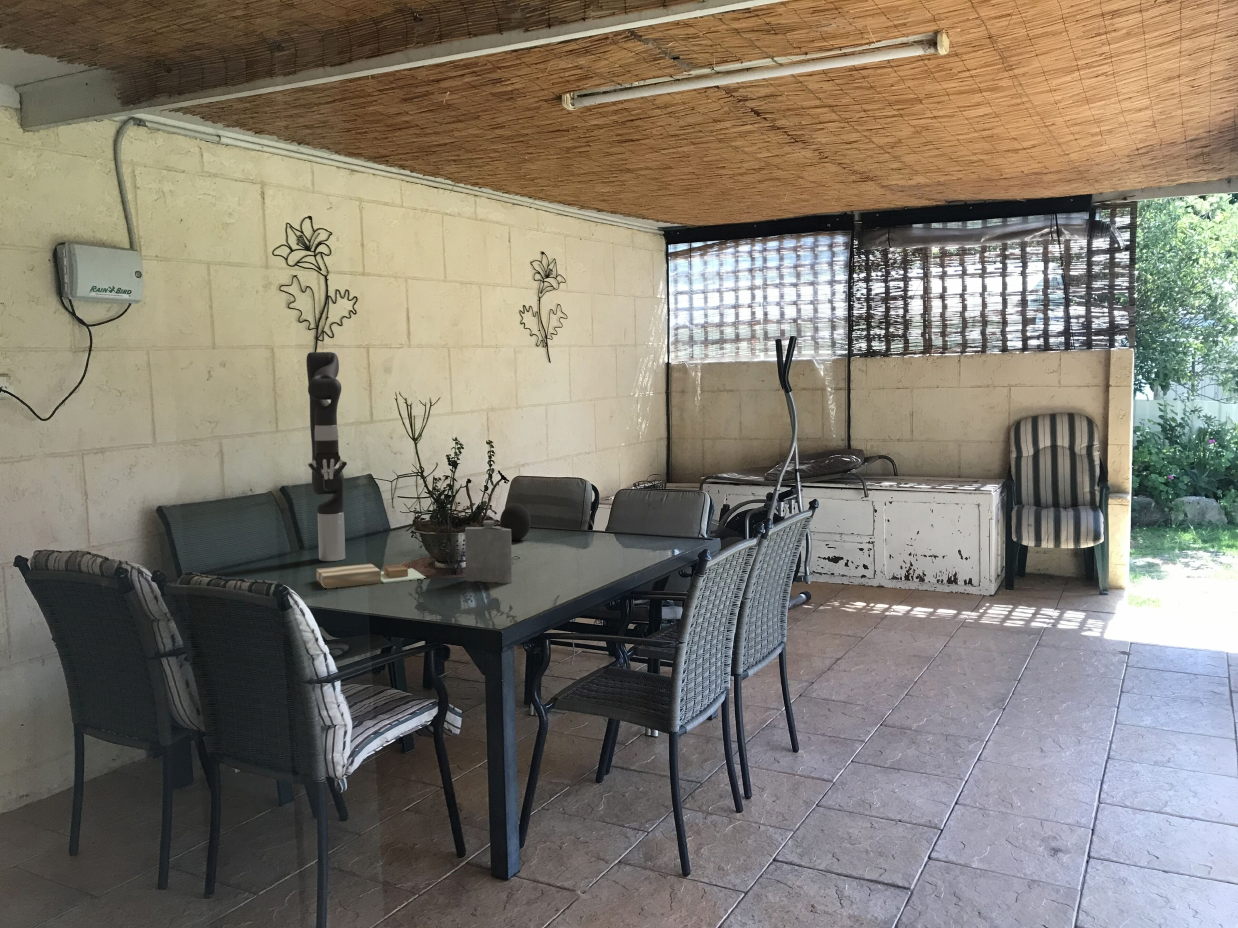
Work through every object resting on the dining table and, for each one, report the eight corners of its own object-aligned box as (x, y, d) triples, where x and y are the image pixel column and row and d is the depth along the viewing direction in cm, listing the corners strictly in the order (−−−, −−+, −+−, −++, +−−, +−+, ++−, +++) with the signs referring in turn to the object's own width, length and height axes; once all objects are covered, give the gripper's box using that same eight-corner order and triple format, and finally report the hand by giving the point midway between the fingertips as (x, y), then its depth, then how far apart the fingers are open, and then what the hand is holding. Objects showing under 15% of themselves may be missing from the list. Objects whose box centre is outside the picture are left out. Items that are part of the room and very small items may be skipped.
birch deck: (316, 580, 325) (316, 568, 324) (371, 575, 333) (371, 563, 332) (324, 588, 313) (324, 576, 313) (381, 582, 321) (380, 570, 321)
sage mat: (371, 574, 334) (371, 572, 334) (412, 570, 341) (412, 568, 341) (383, 583, 320) (383, 581, 320) (425, 578, 327) (425, 577, 327)
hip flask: (464, 581, 323) (463, 520, 321) (469, 578, 327) (468, 519, 325) (509, 583, 319) (508, 522, 317) (514, 581, 323) (513, 520, 321)
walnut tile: (401, 564, 335) (401, 571, 335) (383, 566, 332) (384, 573, 332) (407, 568, 328) (408, 576, 328) (389, 570, 325) (390, 578, 325)
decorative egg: (496, 539, 400) (495, 502, 398) (524, 536, 405) (524, 500, 403) (505, 544, 389) (505, 506, 387) (535, 541, 394) (534, 504, 392)
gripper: (344, 437, 335) (345, 487, 336) (304, 438, 329) (305, 490, 330) (349, 438, 328) (350, 490, 330) (308, 440, 322) (310, 492, 324)
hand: (328, 490), depth 330 cm, fingers closed
